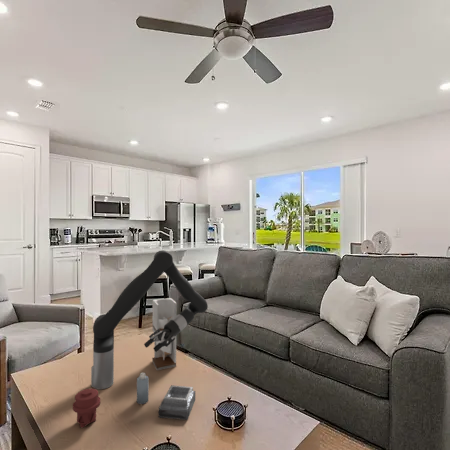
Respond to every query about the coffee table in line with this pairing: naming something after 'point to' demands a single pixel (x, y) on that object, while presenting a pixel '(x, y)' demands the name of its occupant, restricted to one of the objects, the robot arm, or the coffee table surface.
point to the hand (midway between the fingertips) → (149, 348)
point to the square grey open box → (177, 403)
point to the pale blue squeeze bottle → (142, 388)
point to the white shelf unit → (161, 316)
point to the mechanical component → (86, 406)
